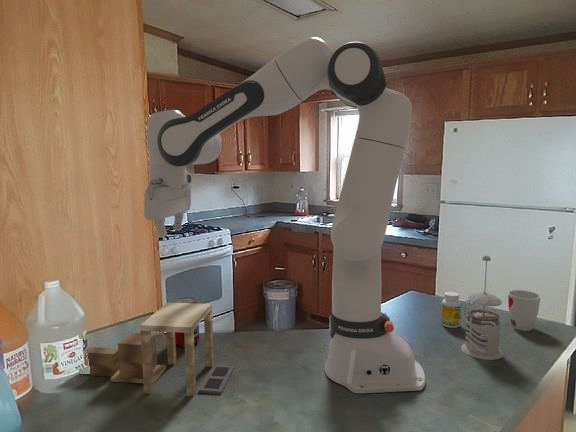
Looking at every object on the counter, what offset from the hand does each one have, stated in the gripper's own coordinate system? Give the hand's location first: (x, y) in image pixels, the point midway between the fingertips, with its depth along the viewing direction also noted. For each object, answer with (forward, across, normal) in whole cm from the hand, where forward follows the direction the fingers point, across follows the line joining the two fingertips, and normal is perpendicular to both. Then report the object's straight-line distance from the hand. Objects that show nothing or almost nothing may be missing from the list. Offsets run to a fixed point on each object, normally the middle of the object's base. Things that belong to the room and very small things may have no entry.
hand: (170, 233), depth 104 cm
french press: (+31, +9, -78) cm, 85 cm away
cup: (+31, +25, -95) cm, 103 cm away
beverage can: (+31, +5, -1) cm, 32 cm away
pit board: (+31, -13, -15) cm, 37 cm away
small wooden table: (+31, -13, -7) cm, 34 cm away
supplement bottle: (+31, +25, -75) cm, 85 cm away
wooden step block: (+31, -13, +8) cm, 35 cm away
